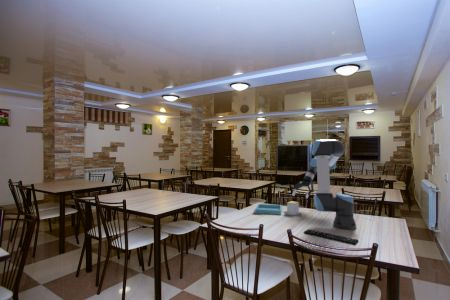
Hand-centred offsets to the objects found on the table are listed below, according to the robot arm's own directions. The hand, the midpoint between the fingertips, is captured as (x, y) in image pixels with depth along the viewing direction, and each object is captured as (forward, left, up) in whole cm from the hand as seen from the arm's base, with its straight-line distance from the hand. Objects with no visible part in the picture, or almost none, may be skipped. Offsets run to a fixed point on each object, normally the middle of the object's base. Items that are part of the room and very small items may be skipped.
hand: (299, 196), depth 225 cm
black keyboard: (-59, -16, -15) cm, 63 cm away
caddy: (-8, +6, -14) cm, 17 cm away
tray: (-2, +27, -14) cm, 30 cm away
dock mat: (-8, +6, -14) cm, 18 cm away
